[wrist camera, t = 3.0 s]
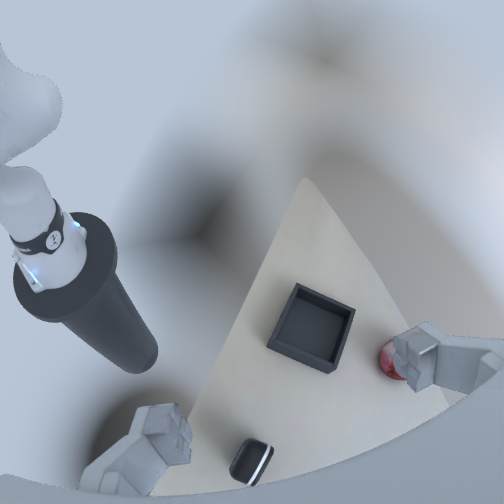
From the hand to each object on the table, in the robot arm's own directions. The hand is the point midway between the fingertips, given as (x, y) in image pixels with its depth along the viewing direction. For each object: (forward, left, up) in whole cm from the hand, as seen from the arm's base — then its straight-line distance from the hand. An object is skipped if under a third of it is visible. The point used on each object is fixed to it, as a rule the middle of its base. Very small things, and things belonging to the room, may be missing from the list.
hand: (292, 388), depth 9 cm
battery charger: (+4, -5, -41) cm, 41 cm away
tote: (+5, +21, -41) cm, 46 cm away
